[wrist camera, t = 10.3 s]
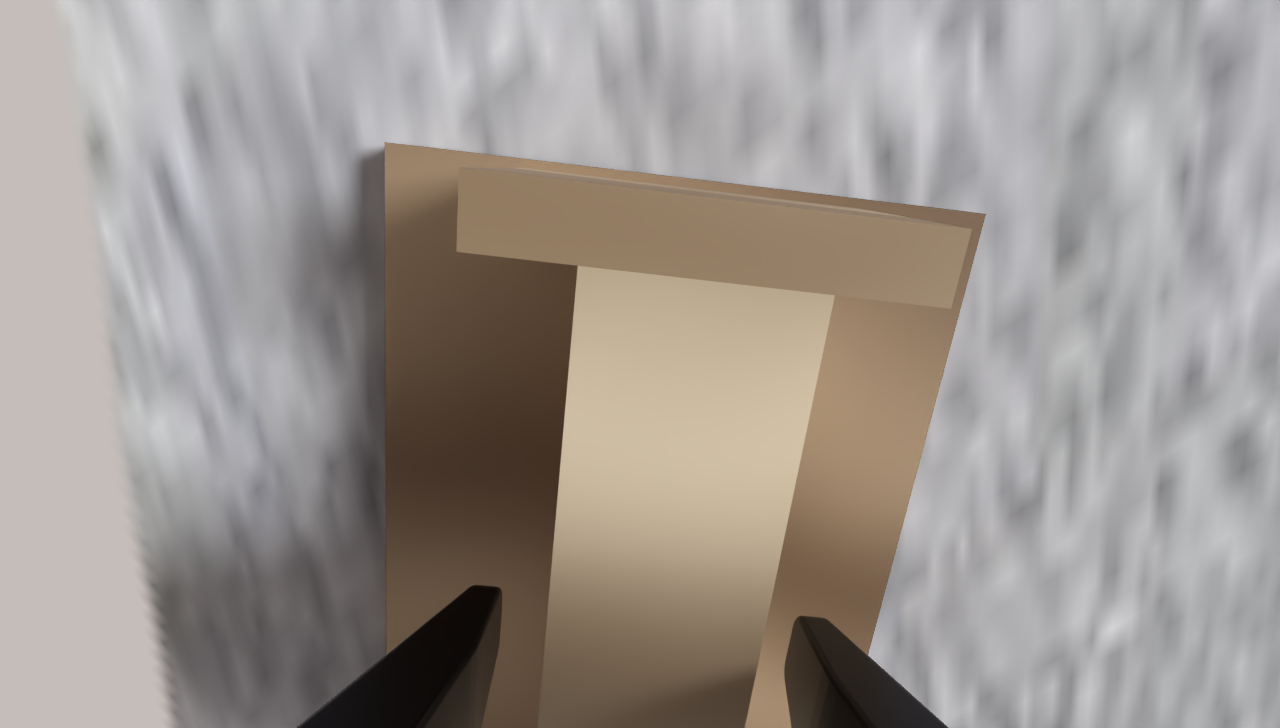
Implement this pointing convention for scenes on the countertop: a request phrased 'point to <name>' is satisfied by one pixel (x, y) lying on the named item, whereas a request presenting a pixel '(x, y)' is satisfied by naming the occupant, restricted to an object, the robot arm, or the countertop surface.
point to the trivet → (534, 421)
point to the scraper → (684, 417)
